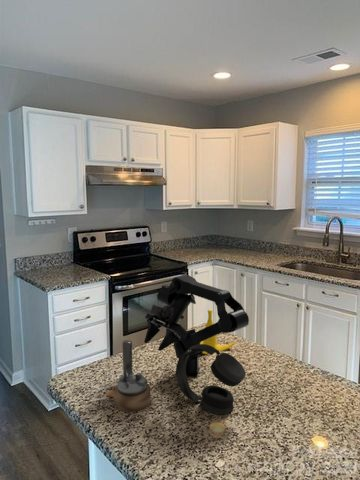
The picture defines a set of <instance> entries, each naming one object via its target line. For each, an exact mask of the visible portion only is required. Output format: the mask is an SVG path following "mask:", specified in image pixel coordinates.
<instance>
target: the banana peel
mask: <svg viewBox="0 0 360 480" xmlns="http://www.w3.org/2000/svg"><path fill="white" fill-rule="evenodd" d="M207 315H208V316H207V317H208V318H207V322H206V324H205V327H204V328H206V327H208V326H210V325H212V324H214V321H213V318H212V316H213V309H208V310H207ZM217 341H218V337H217V335H216V336H213V337H211V338H209V339H206V340H204V341H202V342H201V343H200V344H206V345H209V346H212V347H213V348H215V349H217V350H218V351H219V352H223V351H227V350H228V349H230V348H231V347H233V346H234V345H235V344H236V341H233V342H231V343H229V344H228V343H227V344H224V345H220V344H218V342H217ZM202 354H205V355H207V354H208V353H207V352H205V351H203V353H202ZM208 355H209V354H208Z"/></svg>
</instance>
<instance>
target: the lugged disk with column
mask: <svg viewBox="0 0 360 480" xmlns="http://www.w3.org/2000/svg"><path fill="white" fill-rule="evenodd" d="M122 369H123V370H122V372H123V373H122V375H120V376H119V379H118V380H117V386H118V392H119V393H120V394H122V395H125V396H136V395H140V394H142V393H144V392H145V391H146V390H147V384H148V380H147V378H146V377H145V376H143V373H141V372H136V374H134V371H133V342H132V340H131V339H130V340H129V339H126V340H124V341H122Z"/></svg>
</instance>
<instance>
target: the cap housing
mask: <svg viewBox="0 0 360 480" xmlns="http://www.w3.org/2000/svg"><path fill="white" fill-rule="evenodd" d="M106 397H108V398H110V397H111V398H114V406H115V407H116V409H118V410H120V411H123V412H127V413H128V412H133V413H134V412H139V411H141V410H144V409H146V408H148V407H149V405H150V404H151V401H152V399H151V386H150V384H149V383H147V390H146V391H145V392H144V393H142V394H140V395H136V396H125V395H122V394H120V393H119V392H118V385H116V386H115V388H114V389H113V390H112V389H110V390H109V392H108V393H107V395H106Z"/></svg>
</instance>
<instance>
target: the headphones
mask: <svg viewBox="0 0 360 480" xmlns="http://www.w3.org/2000/svg"><path fill="white" fill-rule="evenodd" d="M193 349H196V350H194V351H192V352H190V353H189V354H188V355H187V356H186V358H185V360H184V362H183V359H184V356H185V354H186V353H187V352H188V351H190V350H193ZM196 351H205V352H207V353H208V355H210V356H213V354H216V356H215V359H214V360H213V362H211V364H210V365H211V366H210V371H211V373H212V375H213V376H214V377H215V379H217V380H218V381H220V382H221V383H222V384H224V385H226V386H228V387H233V388H234V387H236V386H238V385H240V383H241V382H242V381H243V380H244V379H245V378H246V371H245V367H244V366H243V365H242V364H241V362H240V361H239V360H237V359H236V358H235V357H234V356H232V354H230V353H227V352H221V351H218V350H217V349H215V348H214V346H213V347H212V346H209V345H206V344H197V345H194V346H192V347H190V348H189V349H188V350H187V351H185V352H184V353H183V354H182V355H181V356H180V358H178V360H177V363H176V367H175V375H176V378H175V379H176V381H177V385H178V387H179V388H180V390H181V392H182V393H183V395H184V397H186V398H187V399H188V400H189V401H191V402H193V403H197V402H198V401H200V408H201V409H202V410H205V411H206V412H207V413H209V414H210V413H211V414H214V415H228V414H229V413H231V412H232V411H234V410H233V409H234V396H233V393H232V392H231V391H230V390H229V389H227V388H224V387H221V386H219V385H208V386H207V385H206V386H205V387H204V388H203V389H202V391H201V396H199V395H198V394H197V393H196V392H195V391H193V390H192V388H191V387H190V385H189V380H188V376H187V375H186V363H187V360H188V357H189V355H190V354H191V353H193V352H196ZM182 362H183V365H182Z"/></svg>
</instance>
